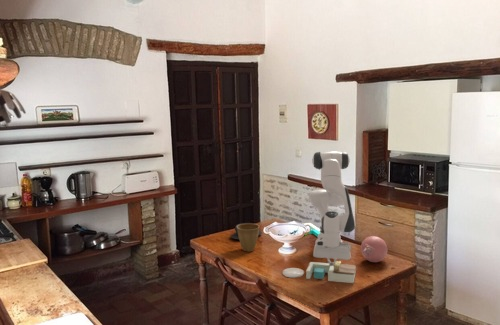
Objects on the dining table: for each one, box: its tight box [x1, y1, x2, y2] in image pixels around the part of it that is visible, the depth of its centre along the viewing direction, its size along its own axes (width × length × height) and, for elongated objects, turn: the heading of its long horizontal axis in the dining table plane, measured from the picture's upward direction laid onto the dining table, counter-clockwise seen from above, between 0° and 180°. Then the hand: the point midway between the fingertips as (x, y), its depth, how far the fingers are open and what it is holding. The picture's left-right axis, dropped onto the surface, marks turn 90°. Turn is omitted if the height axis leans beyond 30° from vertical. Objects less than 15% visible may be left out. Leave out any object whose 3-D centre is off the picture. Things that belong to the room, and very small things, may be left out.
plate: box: [282, 267, 305, 279], centre depth 255 cm, size 12×12×1 cm
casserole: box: [229, 222, 263, 240], centre depth 324 cm, size 25×19×8 cm
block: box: [313, 268, 326, 280], centre depth 249 cm, size 5×5×4 cm
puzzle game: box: [303, 222, 320, 238], centre depth 328 cm, size 30×3×30 cm
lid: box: [333, 260, 357, 275], centre depth 245 cm, size 11×11×3 cm
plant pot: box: [237, 223, 260, 252], centre depth 296 cm, size 15×15×16 cm
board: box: [305, 261, 357, 284], centre depth 249 cm, size 14×26×4 cm, turn 72°
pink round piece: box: [360, 235, 388, 263], centre depth 266 cm, size 15×20×15 cm
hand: (331, 265), depth 247 cm, fingers closed
